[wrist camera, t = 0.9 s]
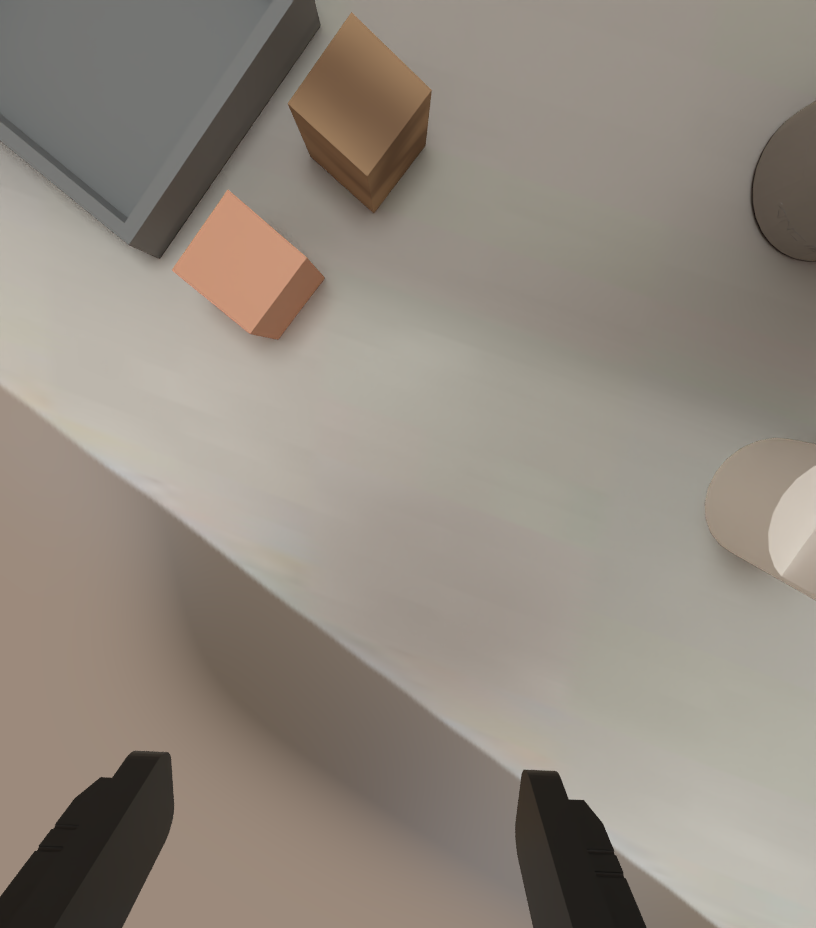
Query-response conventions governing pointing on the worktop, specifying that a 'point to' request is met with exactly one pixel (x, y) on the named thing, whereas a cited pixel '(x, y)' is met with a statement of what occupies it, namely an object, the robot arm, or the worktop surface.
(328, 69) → the walnut block
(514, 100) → the worktop surface
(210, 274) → the terracotta block
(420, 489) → the worktop surface
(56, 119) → the tray
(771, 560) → the cylinder with rectangular tab
